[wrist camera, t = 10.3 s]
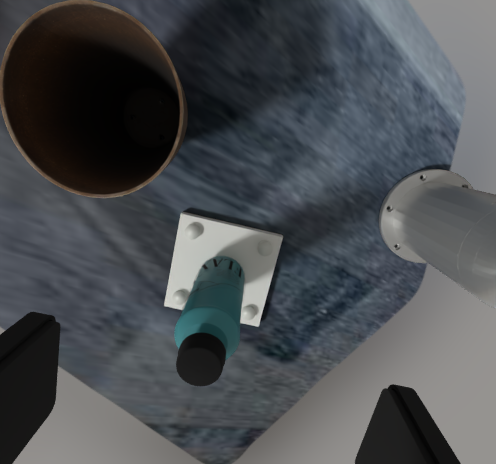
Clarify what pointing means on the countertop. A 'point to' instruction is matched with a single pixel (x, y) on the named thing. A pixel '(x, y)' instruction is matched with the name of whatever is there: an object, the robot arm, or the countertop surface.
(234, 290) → the beverage bottle
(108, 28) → the plant pot
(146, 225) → the countertop surface
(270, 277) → the base plate
